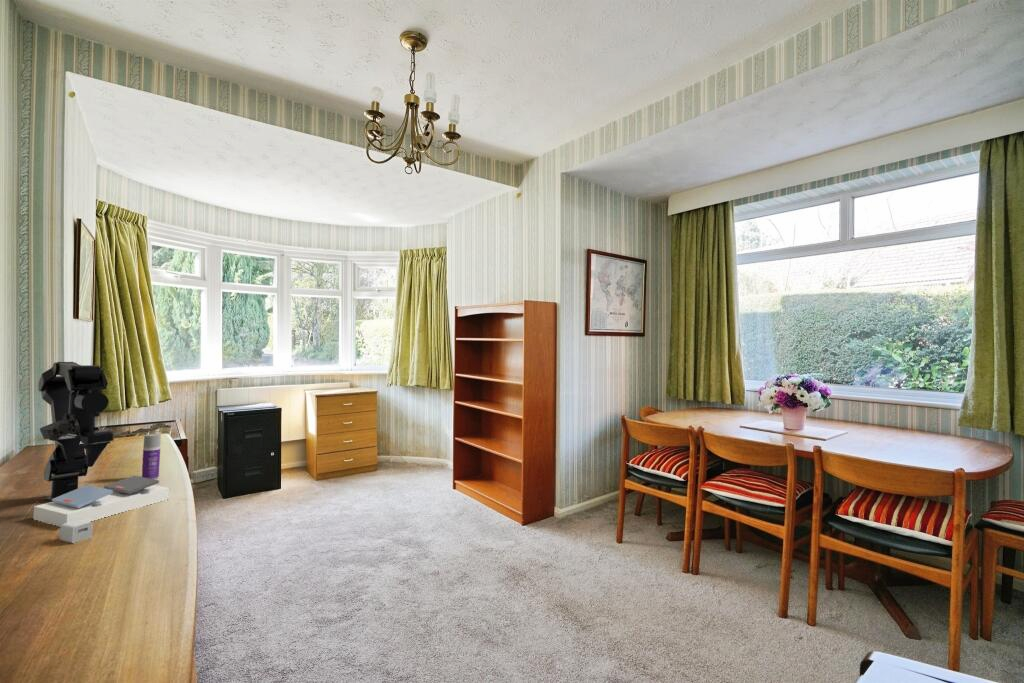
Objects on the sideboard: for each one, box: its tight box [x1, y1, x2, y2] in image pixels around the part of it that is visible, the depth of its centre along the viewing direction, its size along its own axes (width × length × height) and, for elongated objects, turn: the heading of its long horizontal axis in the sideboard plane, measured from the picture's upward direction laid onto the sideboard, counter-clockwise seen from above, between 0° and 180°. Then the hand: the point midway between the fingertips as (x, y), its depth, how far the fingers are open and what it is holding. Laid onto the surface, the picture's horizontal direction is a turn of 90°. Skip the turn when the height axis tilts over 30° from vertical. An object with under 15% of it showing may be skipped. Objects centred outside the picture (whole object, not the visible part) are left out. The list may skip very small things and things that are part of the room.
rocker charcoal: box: [103, 475, 160, 494], centre depth 138 cm, size 11×8×2 cm
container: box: [141, 433, 161, 480], centre depth 161 cm, size 5×5×15 cm
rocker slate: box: [51, 484, 113, 508], centre depth 126 cm, size 11×8×2 cm
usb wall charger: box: [57, 520, 94, 544], centre depth 112 cm, size 4×7×4 cm, turn 73°
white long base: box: [32, 484, 170, 528], centre depth 132 cm, size 14×25×4 cm, turn 160°
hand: (79, 464), depth 132 cm, fingers open, 9 cm apart
